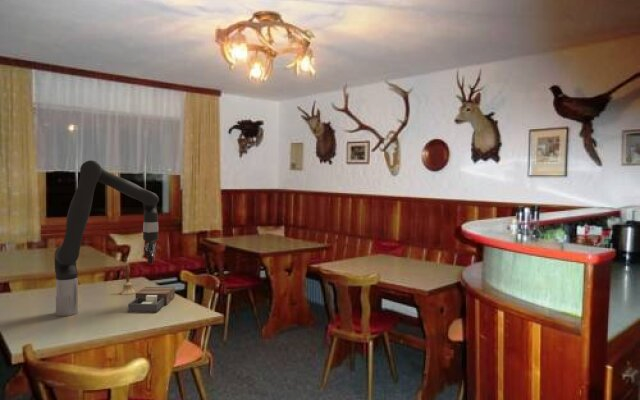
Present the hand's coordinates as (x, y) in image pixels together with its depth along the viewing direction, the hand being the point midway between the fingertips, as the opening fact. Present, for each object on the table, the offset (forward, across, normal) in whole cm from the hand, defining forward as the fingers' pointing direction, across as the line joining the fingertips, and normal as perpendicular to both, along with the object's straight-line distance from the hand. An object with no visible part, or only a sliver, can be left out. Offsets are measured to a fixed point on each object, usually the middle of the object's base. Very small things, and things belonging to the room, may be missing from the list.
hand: (150, 263), depth 240 cm
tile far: (+18, +6, +3) cm, 19 cm away
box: (+21, +10, +2) cm, 24 cm away
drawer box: (+21, -3, +2) cm, 21 cm away
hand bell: (+21, -18, -20) cm, 34 cm away
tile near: (+18, +11, +2) cm, 21 cm away
